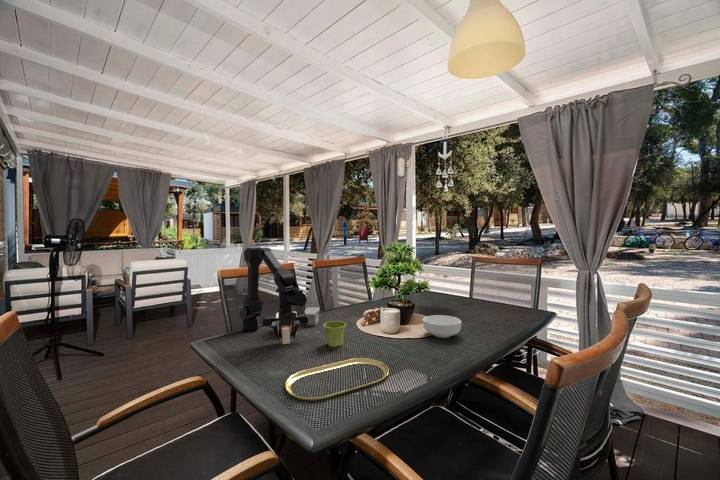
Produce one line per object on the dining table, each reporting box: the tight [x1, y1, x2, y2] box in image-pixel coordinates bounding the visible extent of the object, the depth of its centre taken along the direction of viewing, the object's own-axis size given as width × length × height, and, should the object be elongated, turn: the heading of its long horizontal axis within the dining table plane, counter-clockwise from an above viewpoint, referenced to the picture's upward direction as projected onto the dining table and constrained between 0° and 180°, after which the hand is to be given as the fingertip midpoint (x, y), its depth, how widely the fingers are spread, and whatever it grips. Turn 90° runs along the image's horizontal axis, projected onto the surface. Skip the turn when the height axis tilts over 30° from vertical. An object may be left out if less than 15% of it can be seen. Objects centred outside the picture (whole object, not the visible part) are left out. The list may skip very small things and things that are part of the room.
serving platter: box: [284, 357, 390, 401], centre depth 103 cm, size 19×35×2 cm, turn 120°
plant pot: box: [323, 320, 347, 348], centre depth 132 cm, size 9×9×9 cm
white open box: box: [275, 311, 298, 335], centre depth 149 cm, size 9×10×8 cm
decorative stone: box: [304, 306, 321, 327], centre depth 163 cm, size 15×7×10 cm
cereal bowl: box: [422, 314, 462, 339], centre depth 144 cm, size 17×17×7 cm
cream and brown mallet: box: [280, 325, 293, 345], centre depth 143 cm, size 5×18×6 cm, turn 12°
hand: (286, 339), depth 135 cm, fingers open, 6 cm apart
